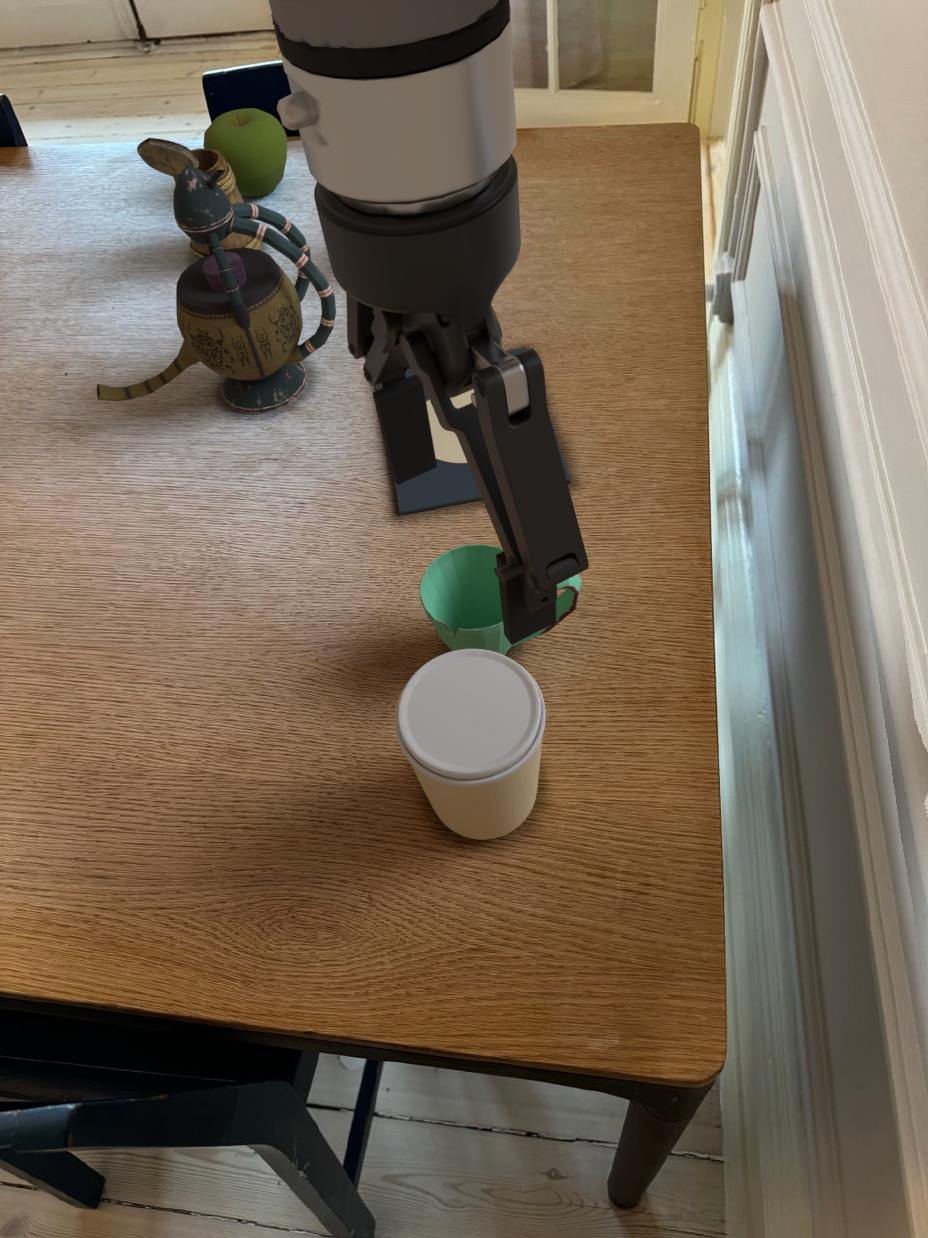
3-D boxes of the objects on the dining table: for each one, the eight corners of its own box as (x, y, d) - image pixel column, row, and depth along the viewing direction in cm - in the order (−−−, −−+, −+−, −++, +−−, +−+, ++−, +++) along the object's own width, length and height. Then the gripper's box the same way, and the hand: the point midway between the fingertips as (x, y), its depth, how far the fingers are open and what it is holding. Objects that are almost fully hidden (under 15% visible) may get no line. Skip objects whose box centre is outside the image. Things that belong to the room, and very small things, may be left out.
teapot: (360, 391, 89) (305, 167, 70) (124, 469, 85) (-1, 255, 66) (329, 328, 96) (271, 108, 77) (110, 398, 92) (-8, 185, 73)
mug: (440, 698, 66) (426, 640, 60) (427, 616, 71) (412, 554, 64) (591, 670, 67) (594, 608, 60) (568, 590, 71) (568, 525, 65)
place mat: (571, 482, 78) (571, 478, 78) (400, 515, 78) (399, 511, 78) (526, 349, 90) (525, 345, 90) (377, 378, 90) (376, 374, 89)
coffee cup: (567, 757, 62) (568, 670, 53) (518, 873, 58) (508, 802, 48) (453, 715, 65) (433, 626, 56) (397, 822, 61) (365, 746, 51)
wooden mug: (173, 294, 103) (107, 140, 88) (205, 231, 110) (149, 80, 96) (243, 293, 101) (188, 136, 87) (270, 229, 109) (224, 75, 94)
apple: (204, 200, 115) (177, 123, 107) (257, 163, 119) (235, 86, 111) (261, 219, 111) (237, 140, 102) (314, 181, 115) (295, 102, 107)
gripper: (208, 76, 37) (322, 442, 54) (492, 391, 23) (524, 746, 40) (364, 25, 38) (427, 397, 56) (717, 291, 25) (655, 675, 42)
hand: (468, 544), depth 48 cm, fingers open, 13 cm apart
